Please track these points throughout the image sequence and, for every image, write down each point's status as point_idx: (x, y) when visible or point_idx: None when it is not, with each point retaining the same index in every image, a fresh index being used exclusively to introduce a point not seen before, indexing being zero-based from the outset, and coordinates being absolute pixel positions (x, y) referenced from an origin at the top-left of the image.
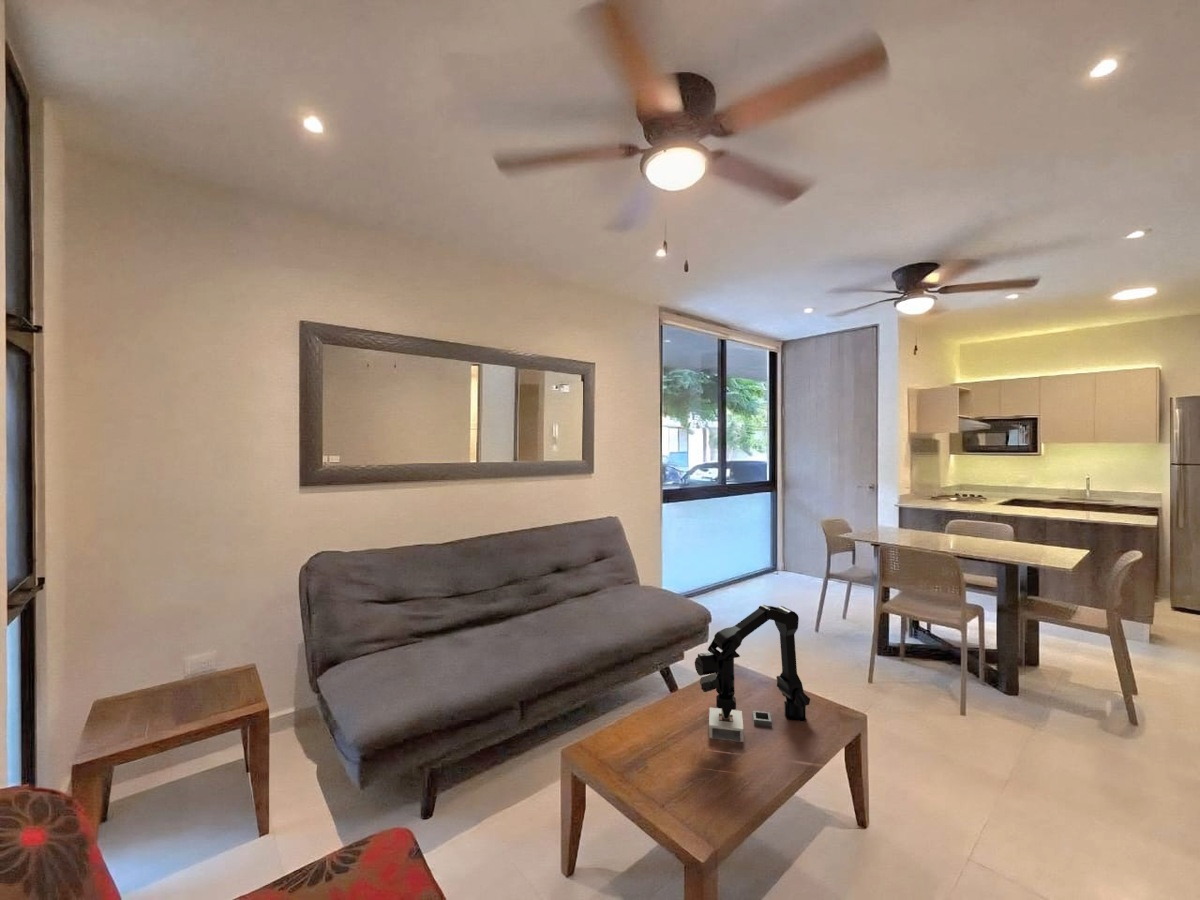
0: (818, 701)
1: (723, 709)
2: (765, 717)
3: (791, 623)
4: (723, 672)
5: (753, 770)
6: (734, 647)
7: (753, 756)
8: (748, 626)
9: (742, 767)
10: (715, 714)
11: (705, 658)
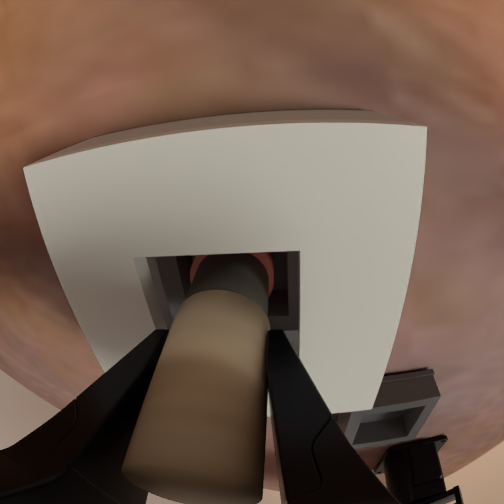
0: (468, 461)
1: (73, 413)
2: (405, 414)
3: None
4: None
5: (23, 342)
6: None
7: (89, 358)
8: None
9: (11, 311)
10: (257, 210)
11: None
